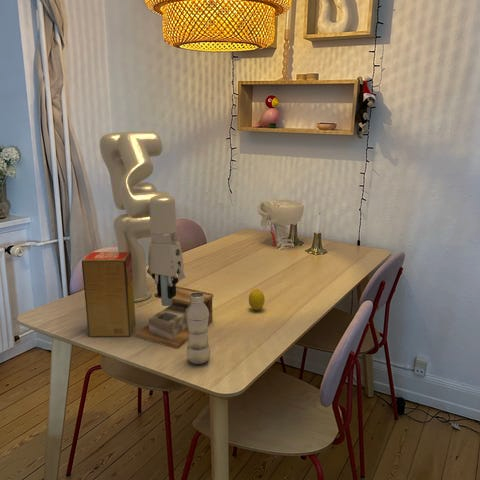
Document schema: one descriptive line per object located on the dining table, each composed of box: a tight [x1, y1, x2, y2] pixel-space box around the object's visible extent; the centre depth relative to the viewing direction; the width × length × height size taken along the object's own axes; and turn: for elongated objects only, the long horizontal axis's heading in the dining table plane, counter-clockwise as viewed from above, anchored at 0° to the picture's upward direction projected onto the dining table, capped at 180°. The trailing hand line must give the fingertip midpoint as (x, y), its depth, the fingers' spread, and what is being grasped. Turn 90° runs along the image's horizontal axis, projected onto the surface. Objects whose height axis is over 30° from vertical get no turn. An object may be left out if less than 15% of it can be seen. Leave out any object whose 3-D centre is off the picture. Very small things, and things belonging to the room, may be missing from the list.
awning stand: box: [134, 285, 214, 349], centre depth 146 cm, size 20×17×10 cm
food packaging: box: [81, 251, 136, 338], centre depth 143 cm, size 13×9×25 cm
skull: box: [257, 198, 305, 251], centre depth 232 cm, size 25×19×23 cm
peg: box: [160, 275, 172, 307], centre depth 139 cm, size 3×3×12 cm
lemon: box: [248, 288, 266, 311], centre depth 160 cm, size 6×6×8 cm
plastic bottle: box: [185, 292, 211, 365], centre depth 126 cm, size 6×7×20 cm
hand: (166, 295), depth 140 cm, fingers closed on peg, 3 cm apart
